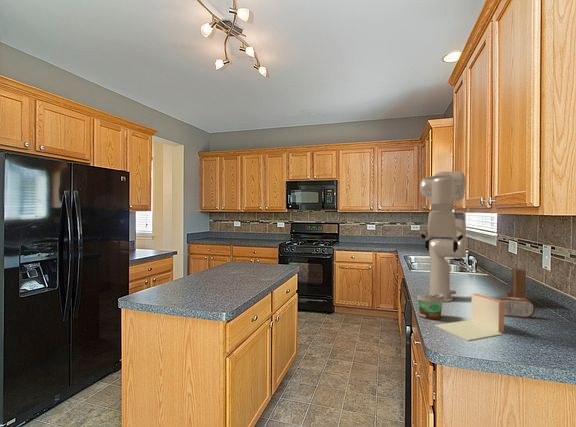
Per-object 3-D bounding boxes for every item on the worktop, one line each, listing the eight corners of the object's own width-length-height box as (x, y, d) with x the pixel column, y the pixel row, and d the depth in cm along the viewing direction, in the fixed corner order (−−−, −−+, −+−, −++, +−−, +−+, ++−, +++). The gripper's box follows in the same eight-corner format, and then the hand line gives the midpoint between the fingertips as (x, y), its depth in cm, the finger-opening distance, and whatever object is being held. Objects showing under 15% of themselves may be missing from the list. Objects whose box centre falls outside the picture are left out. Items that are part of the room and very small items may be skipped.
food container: (426, 322, 130) (426, 298, 130) (416, 317, 136) (417, 294, 136) (450, 319, 133) (451, 296, 133) (440, 314, 139) (440, 292, 139)
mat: (467, 320, 132) (467, 320, 132) (502, 334, 118) (502, 333, 118) (435, 326, 126) (435, 325, 126) (468, 341, 112) (468, 340, 112)
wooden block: (506, 301, 161) (507, 266, 160) (516, 301, 159) (517, 266, 159) (514, 306, 152) (515, 269, 152) (525, 307, 151) (526, 270, 150)
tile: (475, 321, 131) (476, 293, 131) (503, 332, 120) (504, 301, 120) (470, 322, 130) (471, 293, 130) (498, 333, 119) (499, 302, 119)
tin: (532, 316, 138) (532, 297, 137) (536, 319, 134) (536, 300, 134) (493, 313, 141) (494, 295, 141) (496, 315, 138) (496, 297, 138)
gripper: (465, 208, 125) (464, 251, 125) (418, 208, 132) (418, 248, 132) (467, 208, 118) (466, 253, 118) (418, 208, 125) (417, 250, 125)
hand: (441, 251), depth 125 cm, fingers open, 9 cm apart
